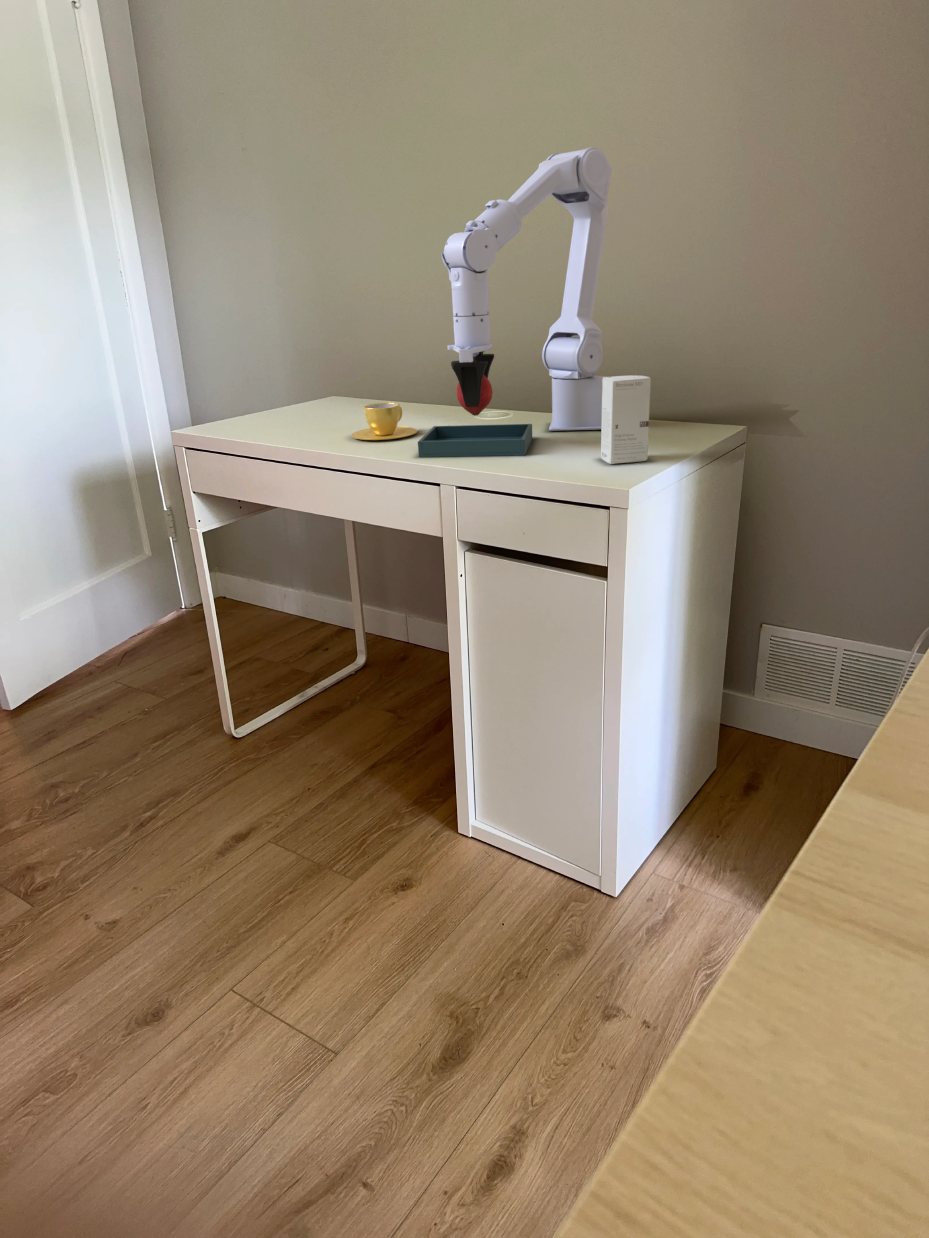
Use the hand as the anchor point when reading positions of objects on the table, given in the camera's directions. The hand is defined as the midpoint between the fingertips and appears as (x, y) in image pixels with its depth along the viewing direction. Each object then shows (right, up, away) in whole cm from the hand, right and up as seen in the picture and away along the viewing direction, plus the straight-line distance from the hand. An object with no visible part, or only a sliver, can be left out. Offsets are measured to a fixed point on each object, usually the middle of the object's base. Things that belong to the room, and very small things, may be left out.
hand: (475, 403), depth 139 cm
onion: (0, -2, +1) cm, 2 cm away
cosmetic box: (+22, -12, -11) cm, 27 cm away
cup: (-16, -2, +17) cm, 24 cm away
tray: (0, -7, +3) cm, 7 cm away
